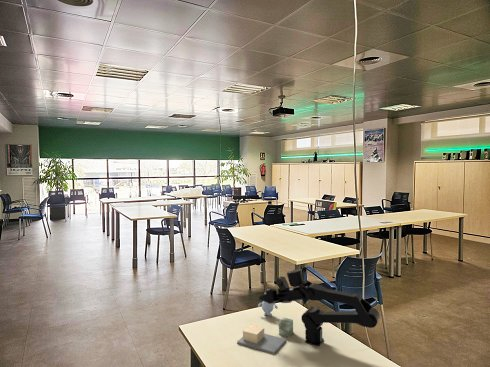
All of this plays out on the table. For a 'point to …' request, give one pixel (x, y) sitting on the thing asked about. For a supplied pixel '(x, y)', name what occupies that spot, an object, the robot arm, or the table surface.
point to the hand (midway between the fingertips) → (264, 298)
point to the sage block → (286, 326)
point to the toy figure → (267, 307)
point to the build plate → (260, 340)
